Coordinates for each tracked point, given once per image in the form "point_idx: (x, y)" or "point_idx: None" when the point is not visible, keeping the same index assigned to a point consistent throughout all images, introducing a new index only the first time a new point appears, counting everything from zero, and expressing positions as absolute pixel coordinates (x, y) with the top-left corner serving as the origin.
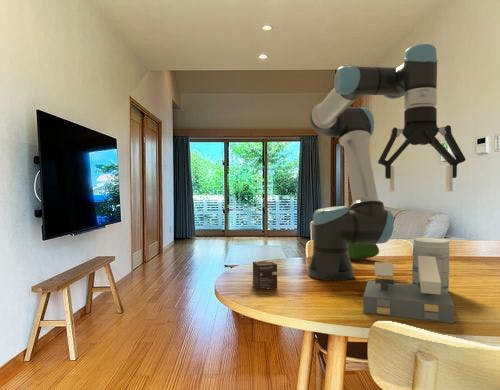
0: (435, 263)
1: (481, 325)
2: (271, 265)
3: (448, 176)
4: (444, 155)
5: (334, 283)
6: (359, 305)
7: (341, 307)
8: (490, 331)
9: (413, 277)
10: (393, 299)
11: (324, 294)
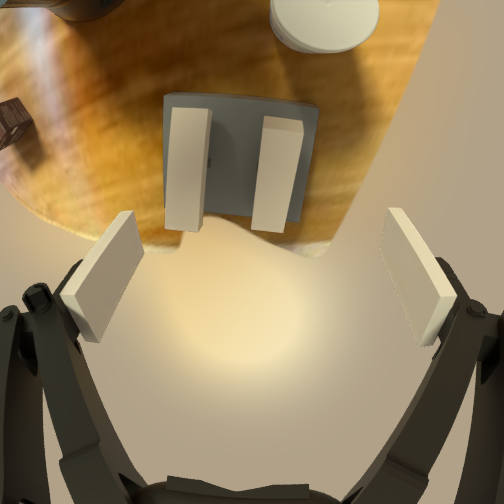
0: (294, 167)
1: (331, 208)
2: (2, 139)
3: (403, 288)
4: (413, 398)
5: (106, 33)
6: (162, 161)
7: (138, 180)
8: (333, 227)
9: (270, 22)
10: (210, 212)
11: (101, 118)
